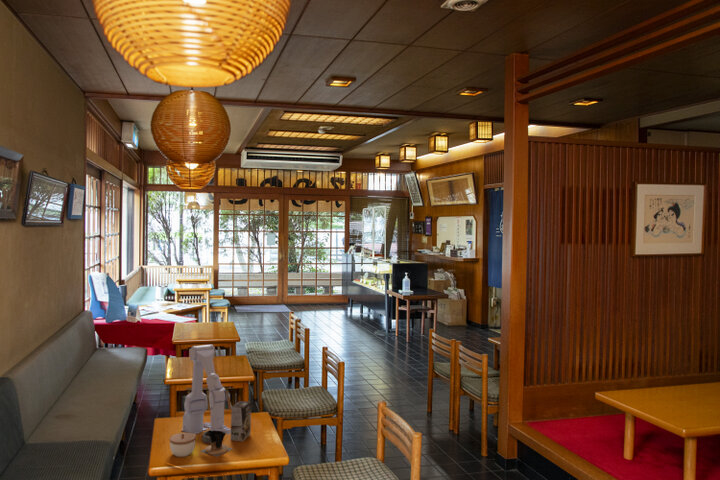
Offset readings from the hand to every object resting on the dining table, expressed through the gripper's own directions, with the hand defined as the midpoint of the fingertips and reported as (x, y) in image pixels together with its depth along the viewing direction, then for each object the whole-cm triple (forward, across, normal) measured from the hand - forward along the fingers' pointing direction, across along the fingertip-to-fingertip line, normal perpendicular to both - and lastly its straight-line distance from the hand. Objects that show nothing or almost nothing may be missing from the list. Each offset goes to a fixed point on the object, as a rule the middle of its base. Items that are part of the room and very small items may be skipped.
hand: (216, 446), depth 243 cm
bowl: (+2, -10, +8) cm, 13 cm away
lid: (+1, 0, 0) cm, 1 cm away
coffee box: (+2, -1, +17) cm, 17 cm away
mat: (+2, 0, 0) cm, 2 cm away
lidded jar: (+2, -10, -11) cm, 15 cm away
